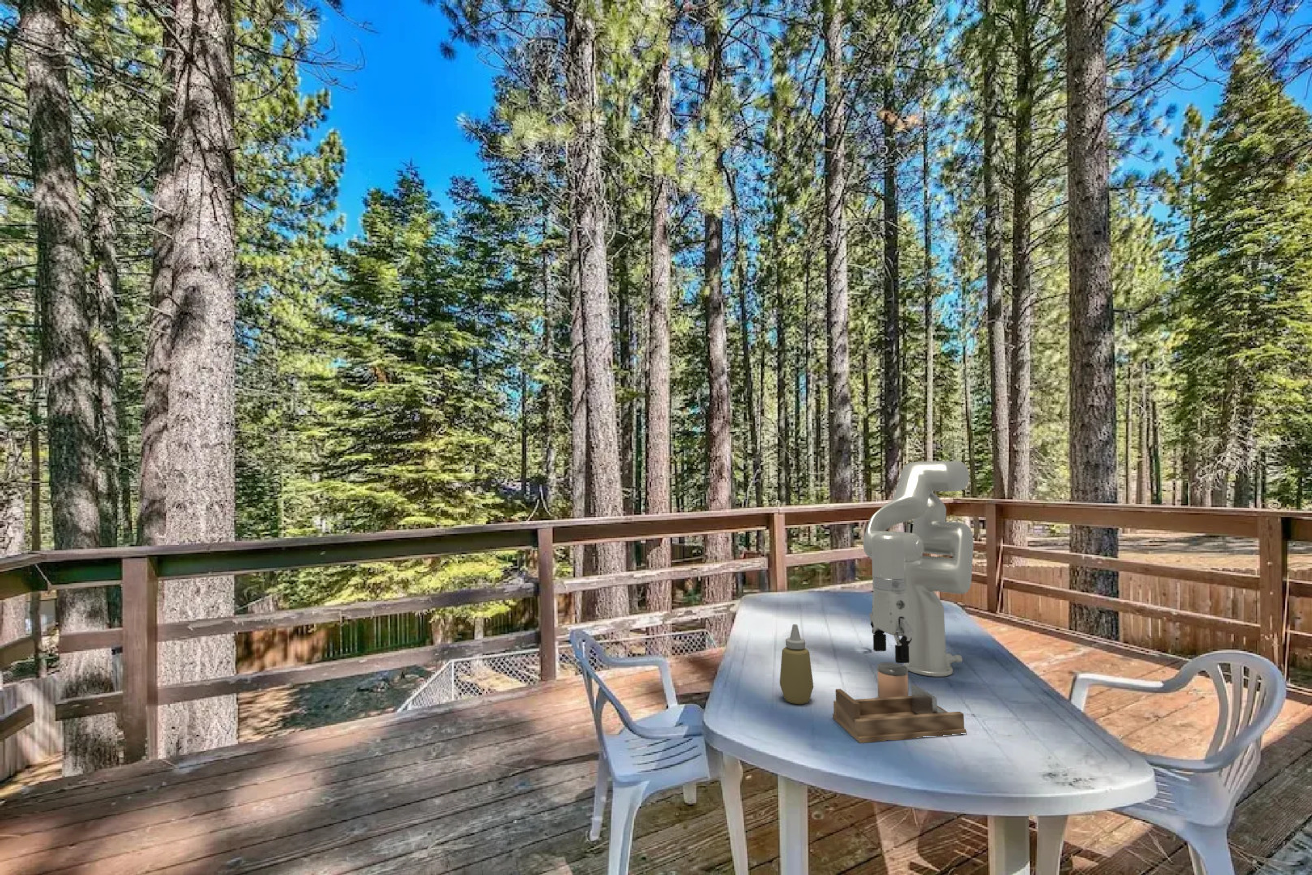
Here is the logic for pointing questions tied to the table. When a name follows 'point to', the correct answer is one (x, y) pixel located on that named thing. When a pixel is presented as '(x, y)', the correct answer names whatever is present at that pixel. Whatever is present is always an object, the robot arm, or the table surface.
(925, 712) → the plate
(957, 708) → the table surface
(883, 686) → the jar
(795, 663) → the squeeze bottle
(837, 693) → the wooden tray
